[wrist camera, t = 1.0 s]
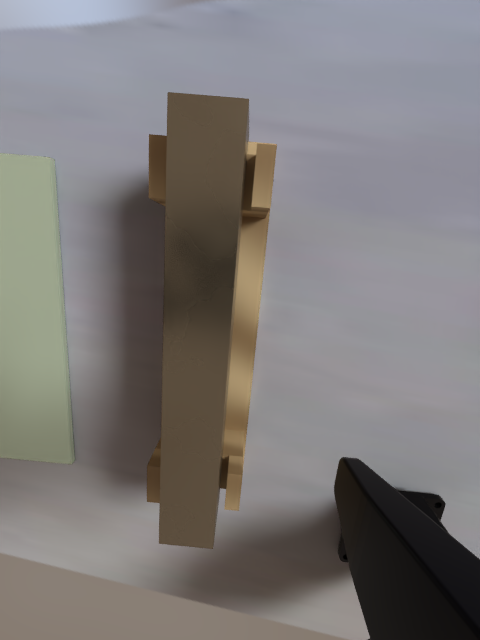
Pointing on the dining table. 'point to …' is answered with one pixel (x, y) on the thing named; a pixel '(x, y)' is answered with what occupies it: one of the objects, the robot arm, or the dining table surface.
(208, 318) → the rail
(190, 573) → the dining table surface
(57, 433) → the mat
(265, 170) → the rack
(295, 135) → the dining table surface
